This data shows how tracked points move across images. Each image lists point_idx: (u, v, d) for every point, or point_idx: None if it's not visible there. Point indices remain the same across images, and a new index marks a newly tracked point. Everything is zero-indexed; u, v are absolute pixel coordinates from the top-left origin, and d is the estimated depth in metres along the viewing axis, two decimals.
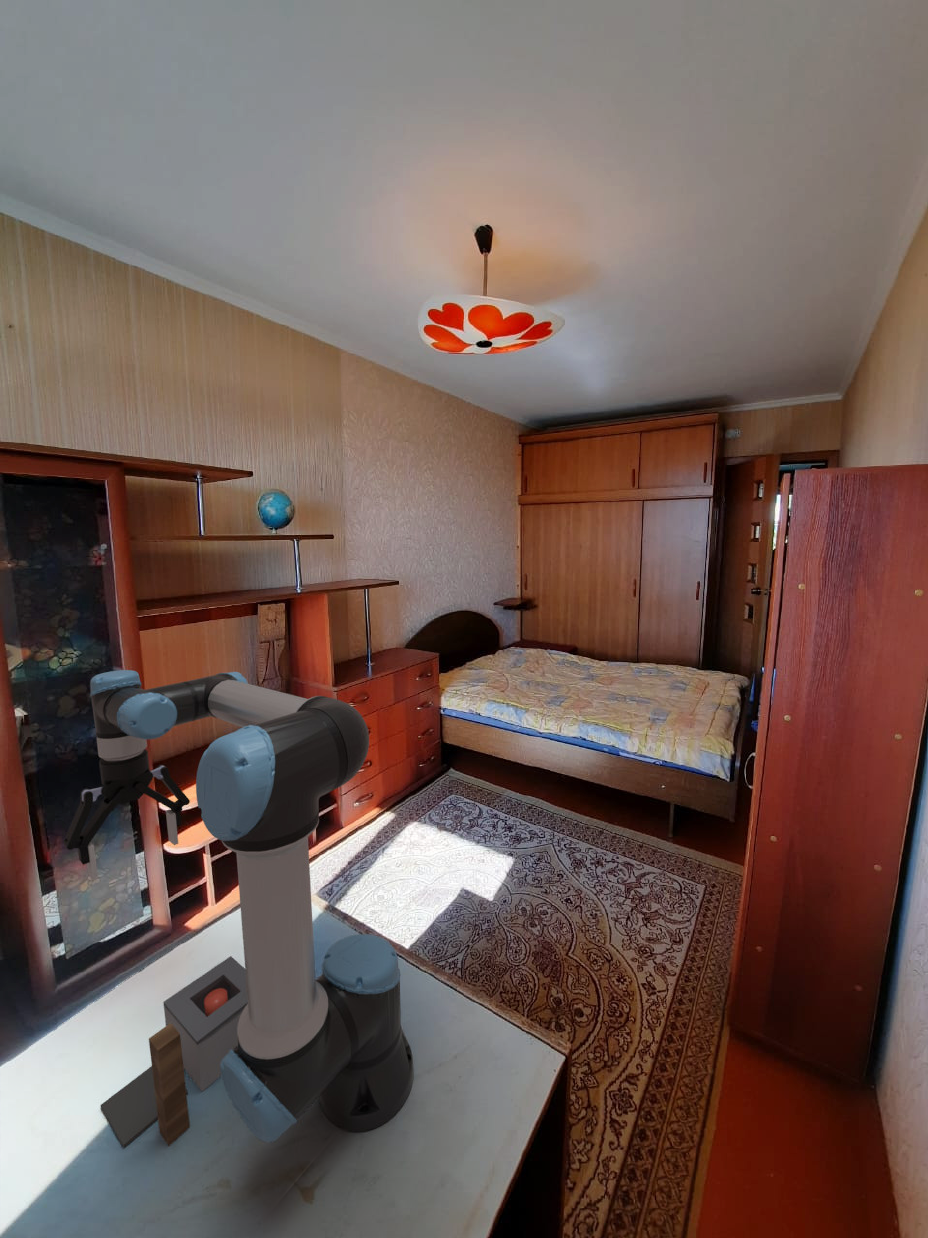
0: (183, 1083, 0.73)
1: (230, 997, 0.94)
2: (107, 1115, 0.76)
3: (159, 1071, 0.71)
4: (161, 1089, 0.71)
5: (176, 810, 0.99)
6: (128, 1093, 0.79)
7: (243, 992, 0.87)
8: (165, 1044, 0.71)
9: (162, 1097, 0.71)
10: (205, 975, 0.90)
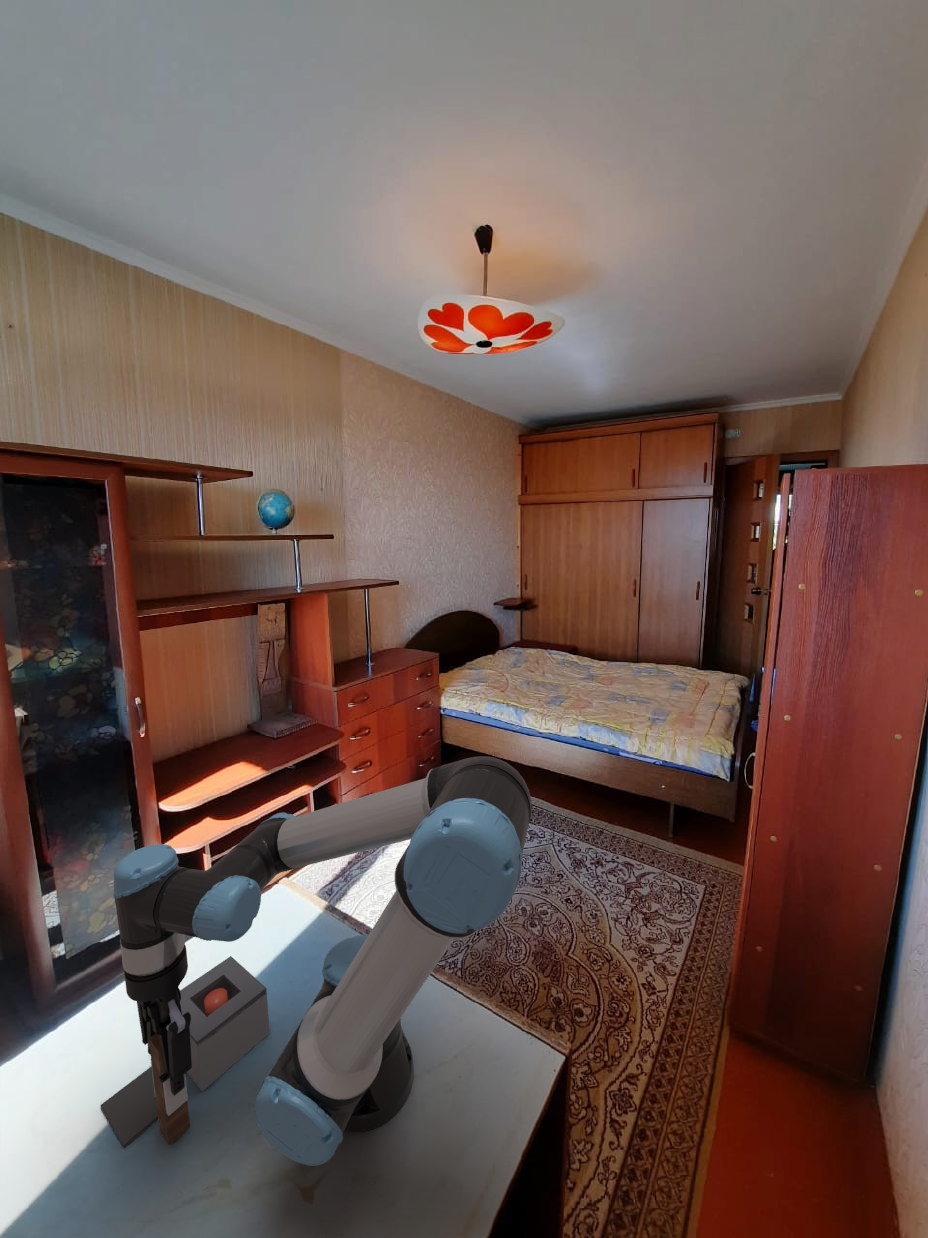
0: None
1: (230, 997, 0.94)
2: (107, 1115, 0.76)
3: (159, 1071, 0.71)
4: (161, 1089, 0.71)
5: (164, 1073, 0.70)
6: (128, 1093, 0.79)
7: (243, 992, 0.87)
8: None
9: (162, 1097, 0.71)
10: (205, 975, 0.90)
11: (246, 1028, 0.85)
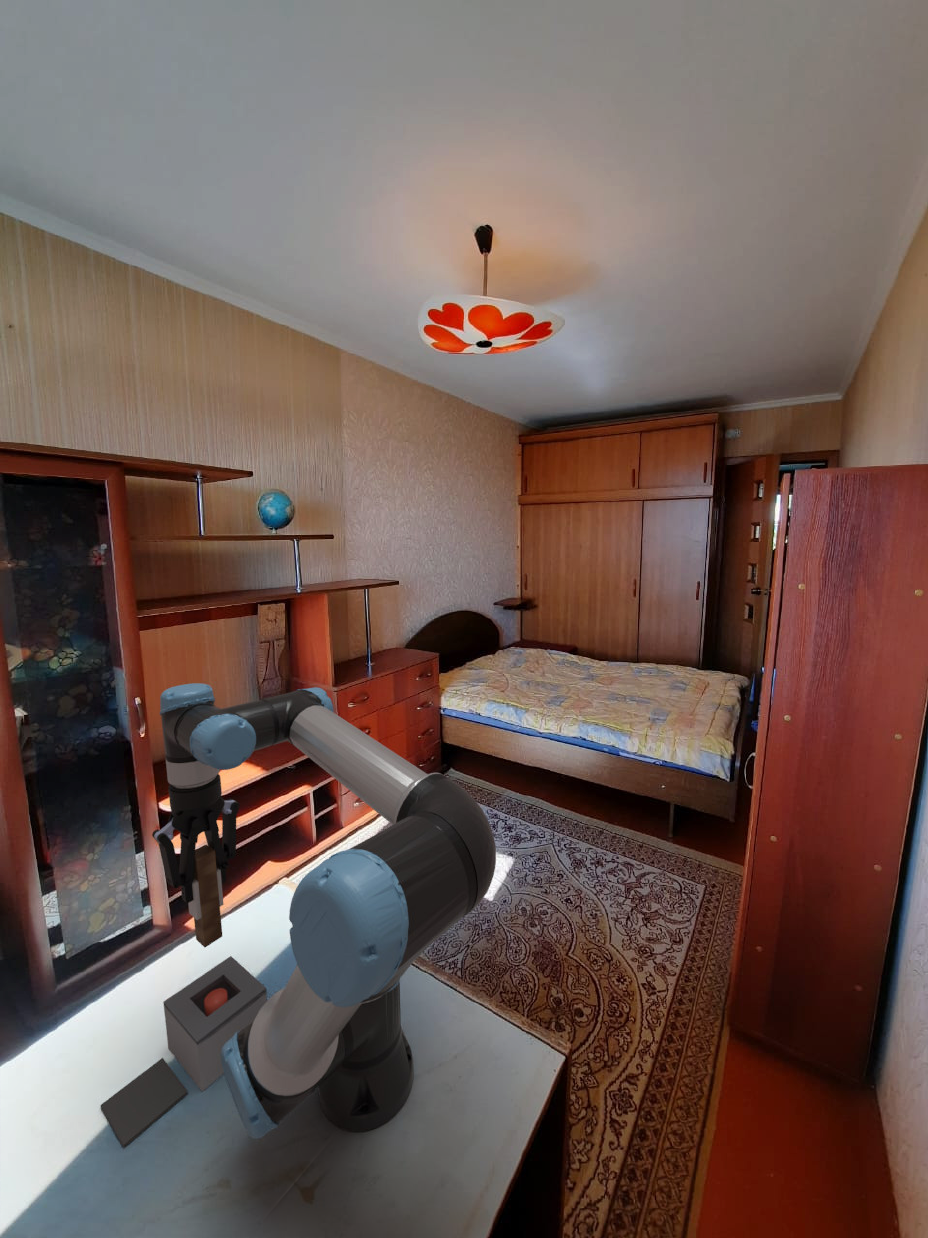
0: None
1: (230, 997, 0.94)
2: (107, 1115, 0.76)
3: (214, 871, 0.83)
4: (216, 887, 0.84)
5: (221, 865, 0.84)
6: (128, 1093, 0.79)
7: (243, 992, 0.87)
8: (210, 848, 0.84)
9: (216, 894, 0.84)
10: (205, 975, 0.90)
11: None
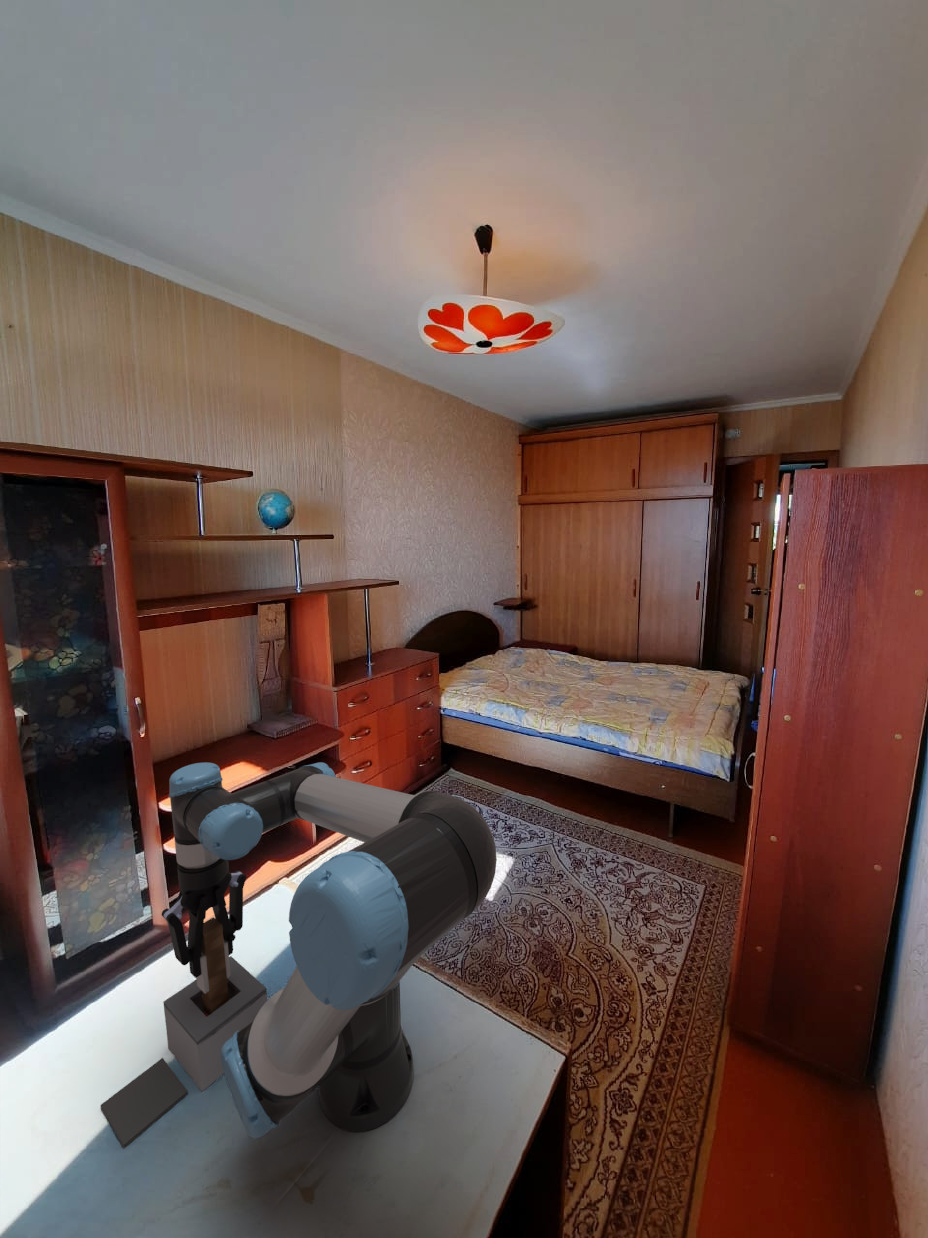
0: None
1: (230, 997, 0.94)
2: (107, 1115, 0.76)
3: (222, 944, 0.85)
4: (223, 960, 0.86)
5: (228, 938, 0.86)
6: (128, 1093, 0.79)
7: (243, 992, 0.87)
8: (218, 922, 0.86)
9: (224, 966, 0.86)
10: None
11: None
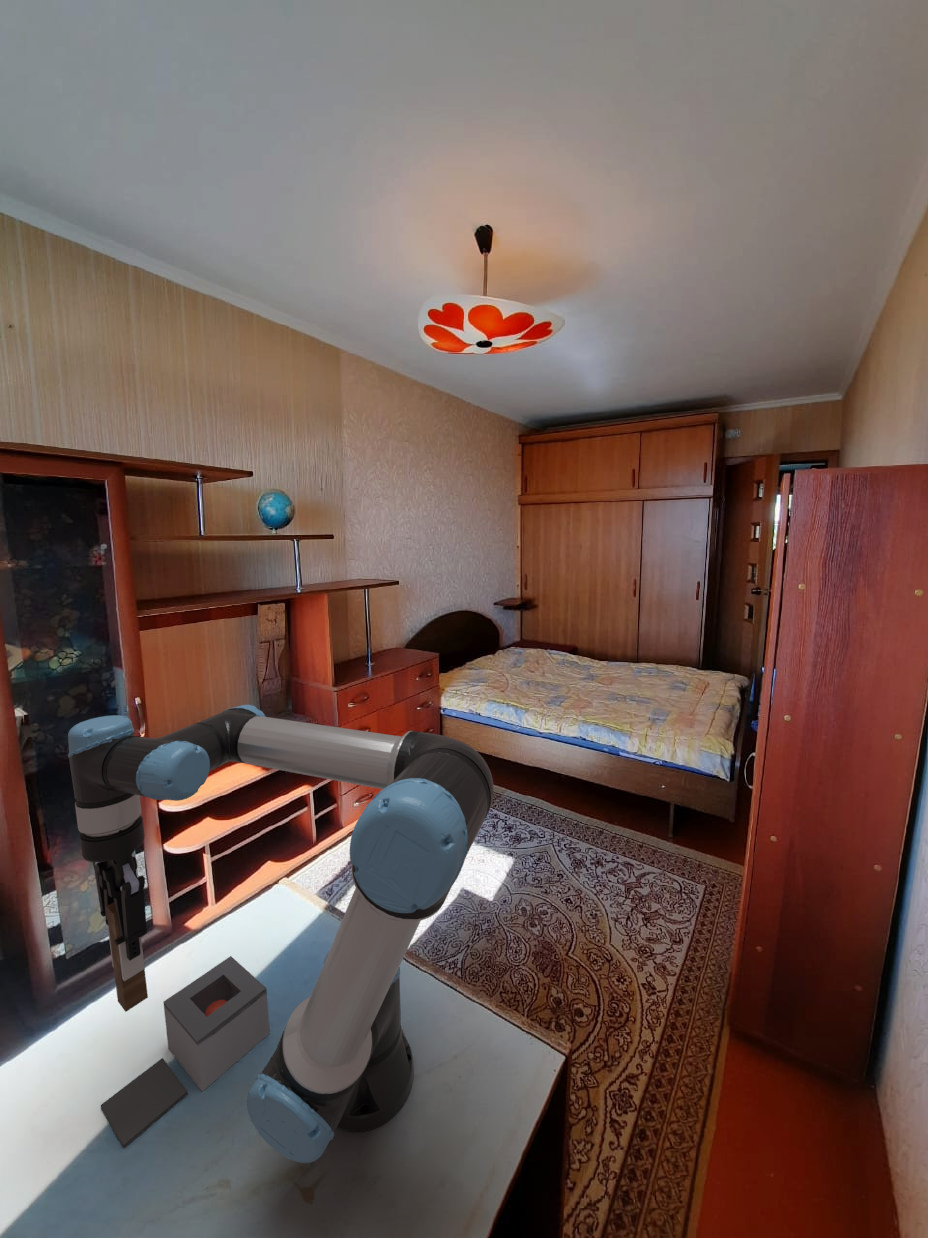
0: None
1: (230, 997, 0.94)
2: (107, 1115, 0.76)
3: (115, 936, 0.72)
4: (118, 954, 0.73)
5: (120, 937, 0.72)
6: (128, 1093, 0.79)
7: (243, 992, 0.87)
8: None
9: (119, 962, 0.73)
10: (205, 975, 0.90)
11: (246, 1028, 0.85)
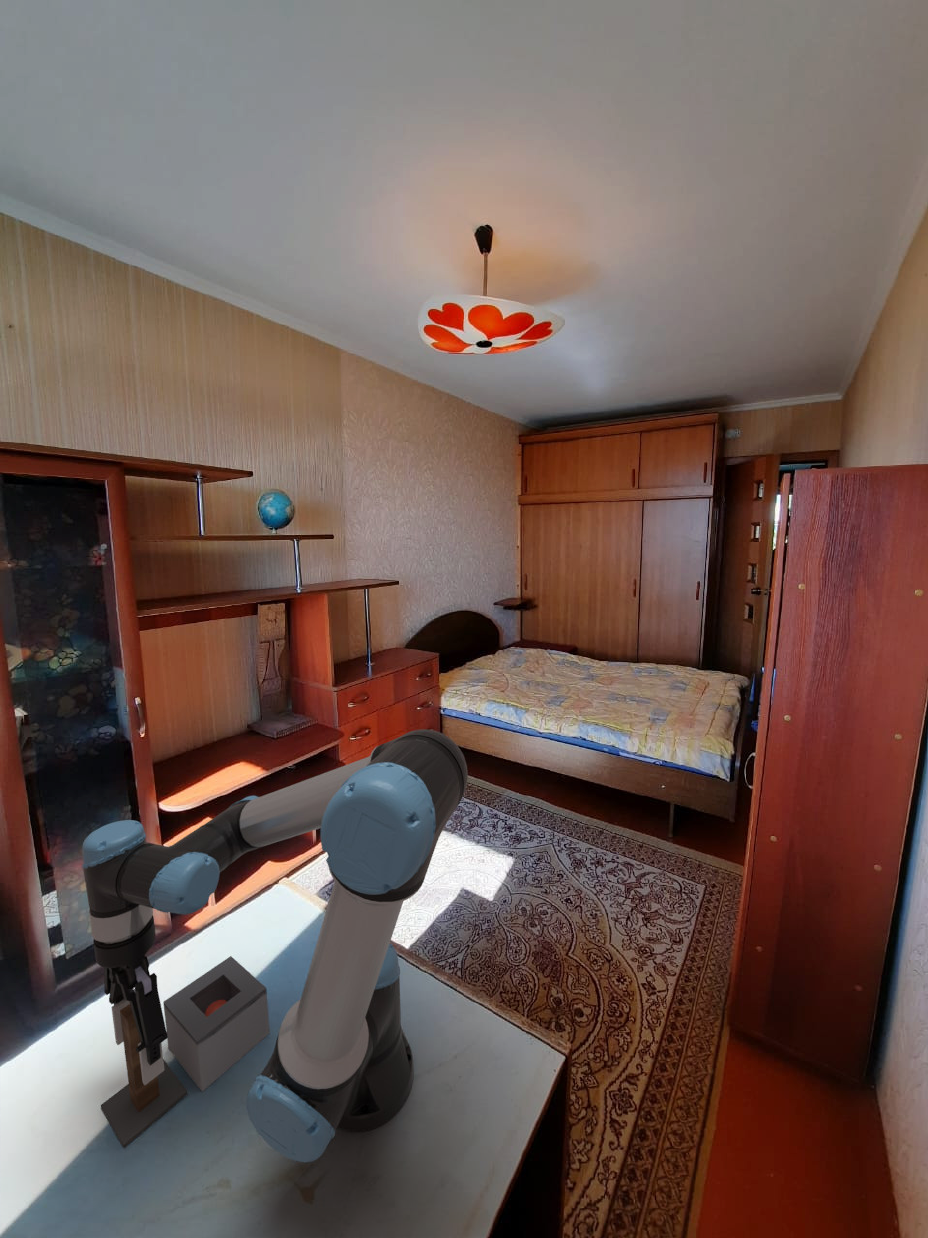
0: None
1: (230, 997, 0.94)
2: (107, 1115, 0.76)
3: (129, 1041, 0.74)
4: (131, 1058, 0.75)
5: (140, 1044, 0.72)
6: (128, 1093, 0.79)
7: (243, 992, 0.87)
8: None
9: (132, 1066, 0.75)
10: (205, 975, 0.90)
11: (246, 1028, 0.85)
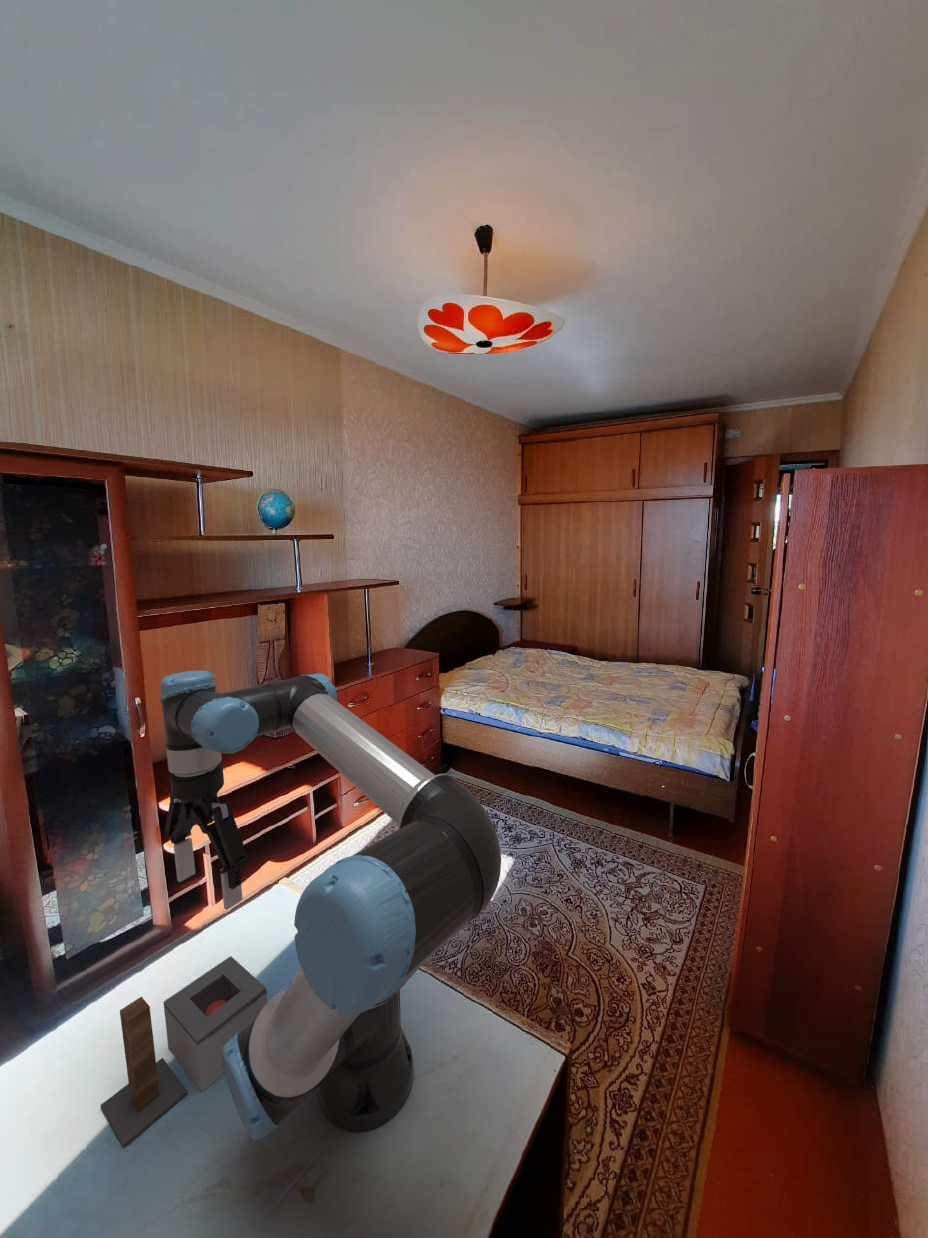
0: (153, 1053, 0.77)
1: (230, 997, 0.94)
2: (107, 1115, 0.76)
3: (129, 1041, 0.75)
4: (131, 1058, 0.75)
5: None
6: (128, 1093, 0.79)
7: (243, 992, 0.87)
8: (135, 1015, 0.75)
9: (132, 1066, 0.75)
10: (205, 975, 0.90)
11: None
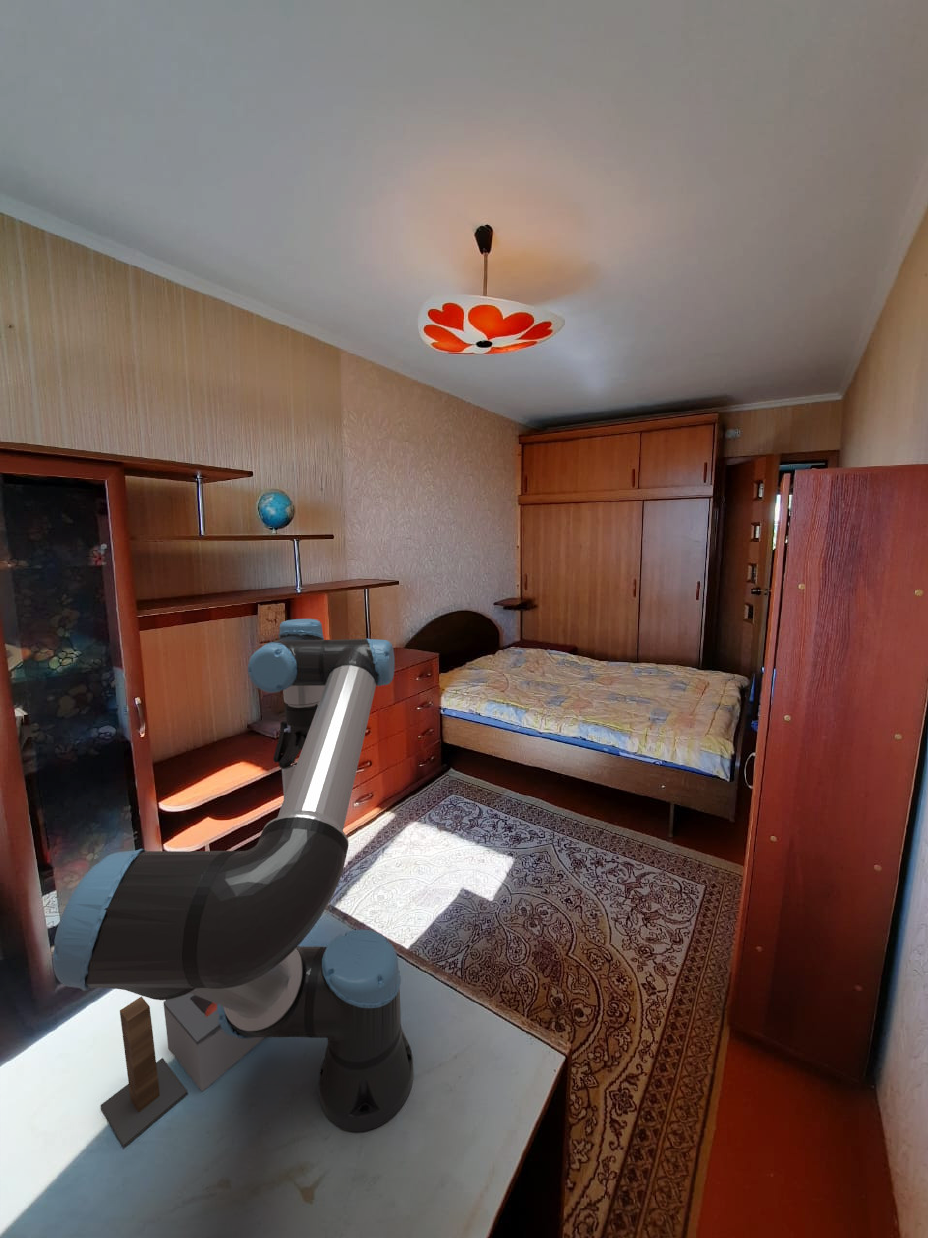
0: (153, 1053, 0.77)
1: None
2: (107, 1115, 0.76)
3: (129, 1041, 0.75)
4: (131, 1058, 0.75)
5: None
6: (128, 1093, 0.79)
7: None
8: (135, 1015, 0.75)
9: (132, 1066, 0.75)
10: None
11: None
